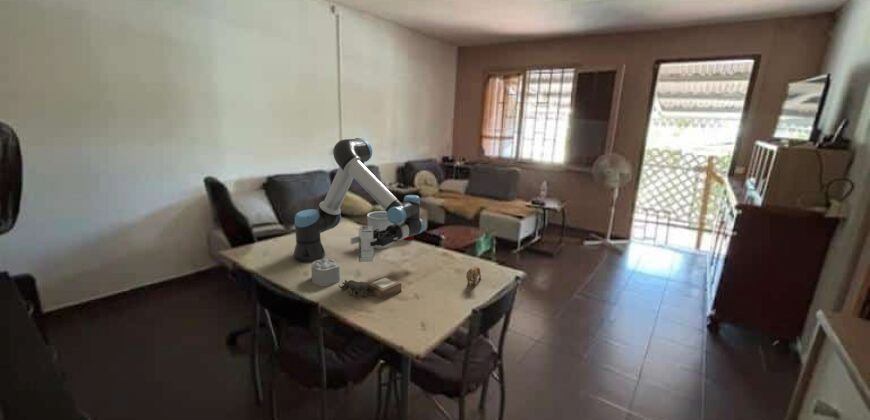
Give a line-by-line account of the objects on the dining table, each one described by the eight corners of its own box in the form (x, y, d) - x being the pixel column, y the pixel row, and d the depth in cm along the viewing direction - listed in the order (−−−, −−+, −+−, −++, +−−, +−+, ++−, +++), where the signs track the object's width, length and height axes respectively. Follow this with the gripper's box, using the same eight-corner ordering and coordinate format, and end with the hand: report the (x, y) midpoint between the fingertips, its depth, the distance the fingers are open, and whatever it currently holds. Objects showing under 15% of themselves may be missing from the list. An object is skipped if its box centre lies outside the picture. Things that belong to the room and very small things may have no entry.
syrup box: (360, 257, 168) (359, 225, 164) (374, 257, 168) (373, 225, 165) (359, 262, 162) (358, 229, 159) (373, 261, 163) (372, 229, 159)
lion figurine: (477, 291, 159) (478, 271, 157) (464, 289, 161) (465, 269, 159) (482, 277, 173) (483, 258, 171) (470, 276, 175) (471, 257, 172)
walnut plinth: (366, 291, 157) (366, 282, 156) (385, 284, 164) (385, 275, 163) (382, 299, 150) (382, 290, 149) (401, 291, 158) (401, 282, 157)
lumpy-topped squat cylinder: (321, 287, 160) (320, 268, 158) (306, 278, 169) (305, 259, 166) (343, 280, 167) (342, 262, 165) (327, 272, 176) (327, 254, 174)
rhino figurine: (342, 289, 158) (341, 276, 157) (372, 294, 155) (372, 280, 153) (336, 294, 155) (336, 280, 153) (367, 299, 151) (367, 285, 149)
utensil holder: (392, 249, 207) (392, 218, 203) (365, 248, 207) (364, 217, 203) (395, 240, 222) (395, 211, 217) (370, 240, 222) (369, 210, 217)
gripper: (412, 244, 171) (373, 258, 154) (382, 235, 184) (342, 246, 167) (413, 228, 169) (372, 240, 152) (382, 219, 182) (342, 229, 165)
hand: (357, 243), depth 159 cm, fingers closed on syrup box, 8 cm apart
